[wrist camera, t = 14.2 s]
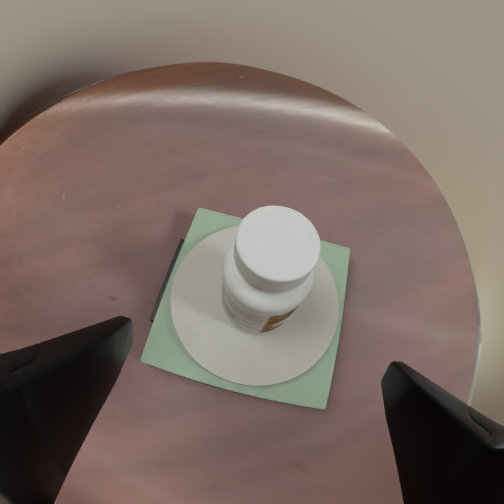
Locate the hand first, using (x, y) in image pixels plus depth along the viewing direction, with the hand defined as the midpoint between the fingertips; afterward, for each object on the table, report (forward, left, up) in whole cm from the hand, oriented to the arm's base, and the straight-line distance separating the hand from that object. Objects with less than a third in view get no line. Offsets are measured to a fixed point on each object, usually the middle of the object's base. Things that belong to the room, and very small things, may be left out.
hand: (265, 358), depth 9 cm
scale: (0, -5, -11) cm, 12 cm away
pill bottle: (0, -5, -8) cm, 10 cm away
